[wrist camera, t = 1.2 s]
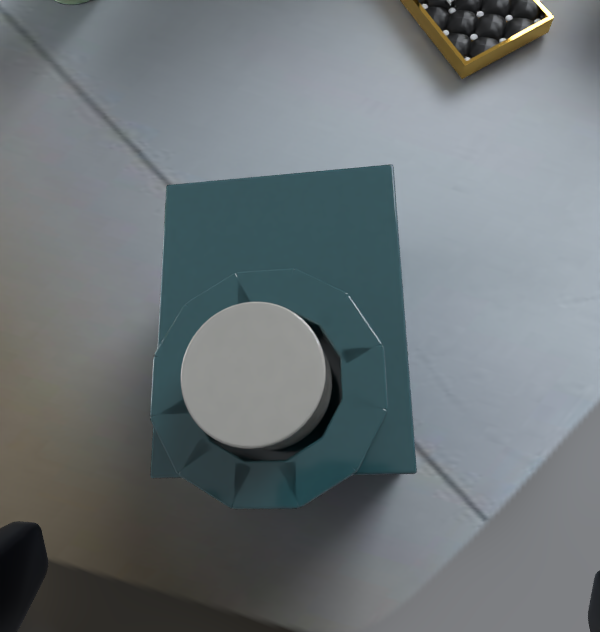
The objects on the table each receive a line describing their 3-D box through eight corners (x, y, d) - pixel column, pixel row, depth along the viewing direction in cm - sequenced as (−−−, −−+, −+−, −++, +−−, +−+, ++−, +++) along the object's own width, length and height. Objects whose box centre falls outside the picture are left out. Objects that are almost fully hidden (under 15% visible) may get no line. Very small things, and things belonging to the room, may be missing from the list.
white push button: (334, 448, 14) (328, 446, 12) (203, 452, 14) (175, 450, 12) (330, 318, 15) (323, 296, 13) (207, 325, 15) (182, 305, 13)
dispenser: (405, 489, 21) (425, 507, 13) (215, 491, 22) (116, 510, 14) (388, 245, 24) (395, 127, 16) (220, 257, 25) (141, 152, 17)
